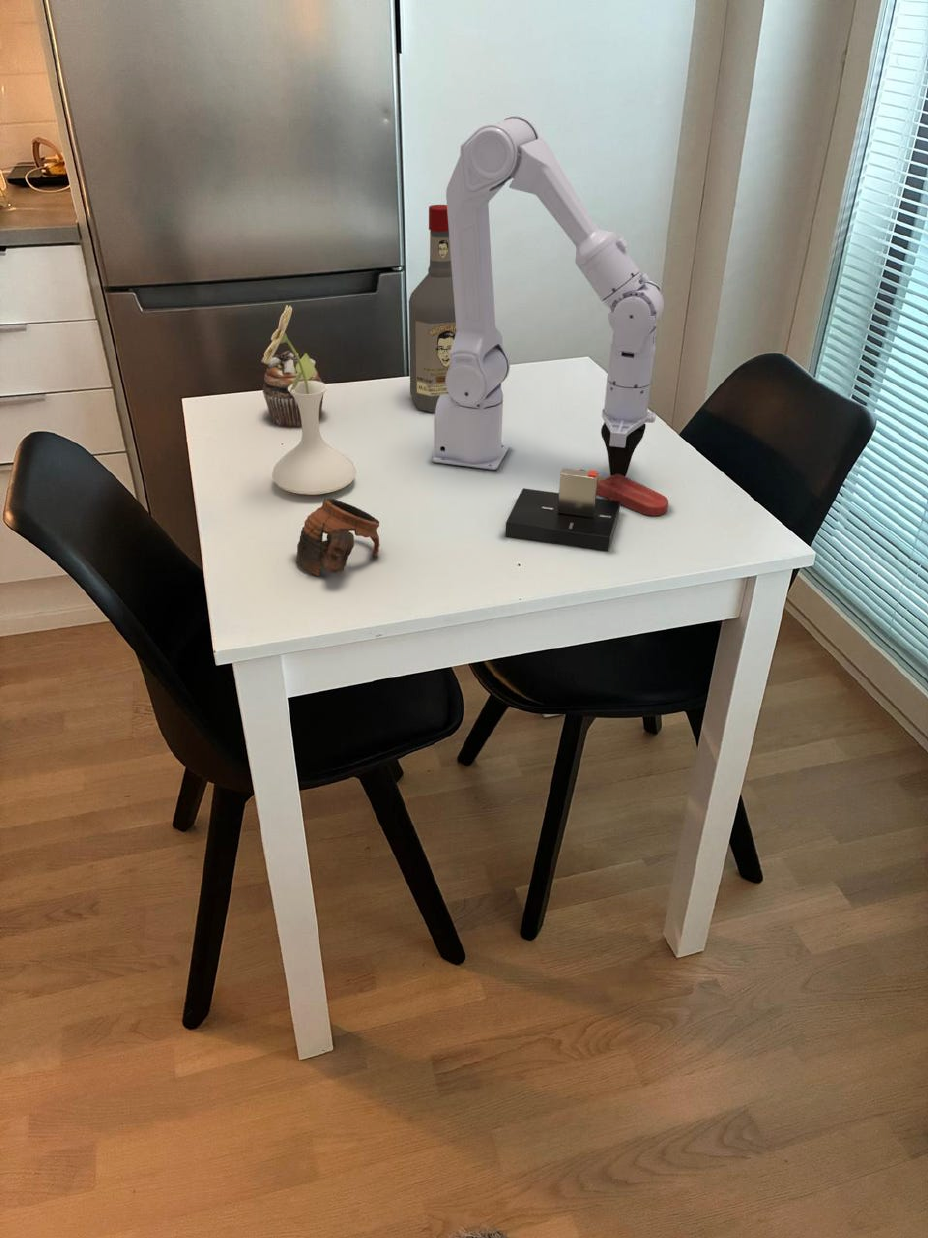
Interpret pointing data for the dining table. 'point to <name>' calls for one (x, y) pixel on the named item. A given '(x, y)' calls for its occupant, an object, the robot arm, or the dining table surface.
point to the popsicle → (632, 495)
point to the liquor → (432, 318)
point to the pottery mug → (333, 536)
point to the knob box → (561, 521)
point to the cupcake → (284, 389)
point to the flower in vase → (308, 433)
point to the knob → (578, 492)
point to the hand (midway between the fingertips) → (618, 475)
